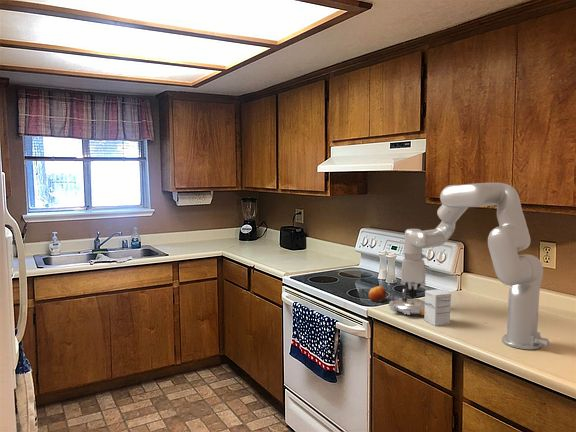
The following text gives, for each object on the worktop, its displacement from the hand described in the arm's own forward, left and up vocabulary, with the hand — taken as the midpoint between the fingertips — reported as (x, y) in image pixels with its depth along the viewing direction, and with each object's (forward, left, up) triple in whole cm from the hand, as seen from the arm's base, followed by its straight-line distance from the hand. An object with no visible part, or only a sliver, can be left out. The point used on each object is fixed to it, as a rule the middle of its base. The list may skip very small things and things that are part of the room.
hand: (412, 297), depth 206 cm
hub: (-3, +5, -5) cm, 7 cm away
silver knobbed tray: (-3, +5, -3) cm, 6 cm away
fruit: (+18, +3, -5) cm, 19 cm away
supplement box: (-18, +9, -5) cm, 21 cm away
